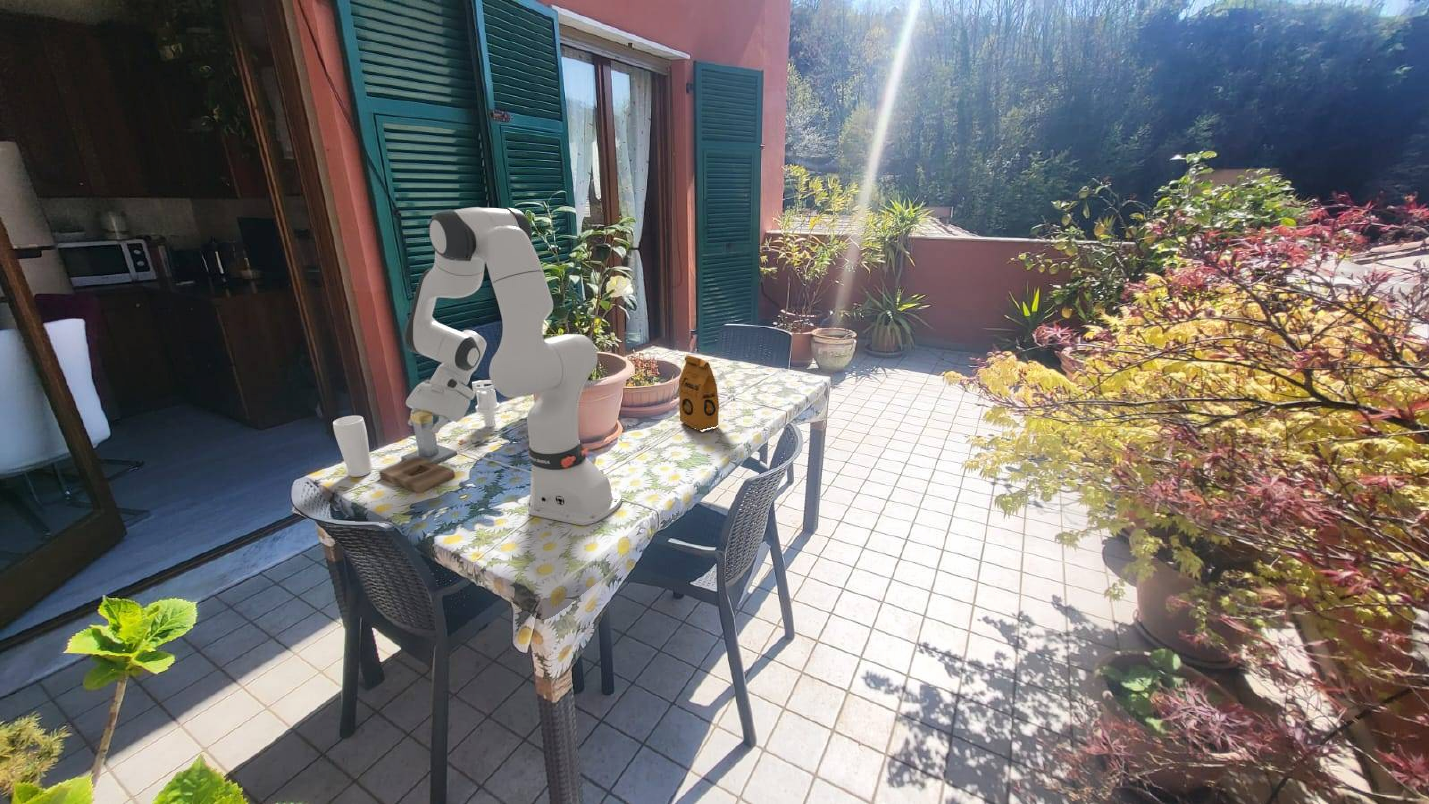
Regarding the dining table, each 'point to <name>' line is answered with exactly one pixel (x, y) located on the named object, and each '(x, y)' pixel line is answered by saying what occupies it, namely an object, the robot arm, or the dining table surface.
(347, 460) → the drinking glass
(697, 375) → the coffee package
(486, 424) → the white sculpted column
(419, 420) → the key peg
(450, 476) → the plate
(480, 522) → the dining table surface
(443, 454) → the coaster
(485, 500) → the dining table surface
